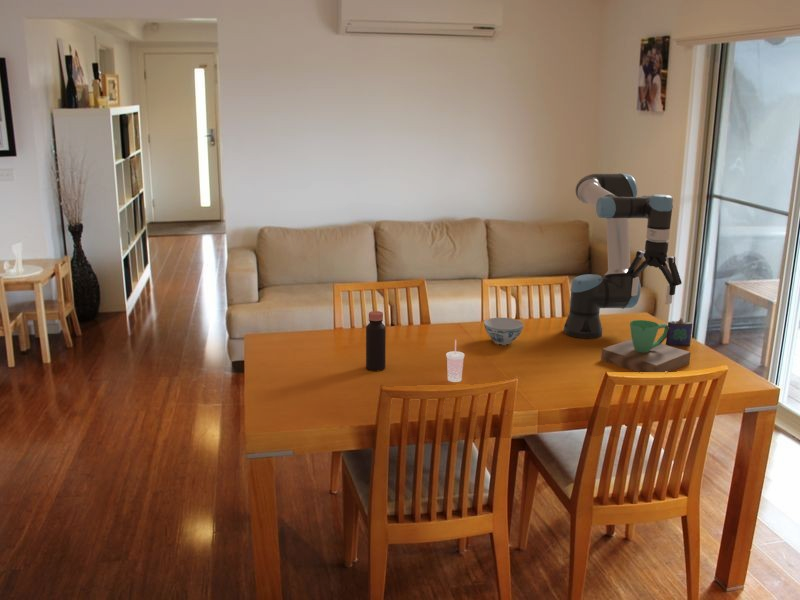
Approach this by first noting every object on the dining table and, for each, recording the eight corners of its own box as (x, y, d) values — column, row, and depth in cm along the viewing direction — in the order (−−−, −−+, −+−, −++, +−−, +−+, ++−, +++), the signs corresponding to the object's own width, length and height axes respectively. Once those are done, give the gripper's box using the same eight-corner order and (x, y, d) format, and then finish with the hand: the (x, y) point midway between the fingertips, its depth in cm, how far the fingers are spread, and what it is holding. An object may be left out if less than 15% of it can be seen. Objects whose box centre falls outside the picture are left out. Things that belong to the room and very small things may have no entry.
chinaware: (530, 344, 293) (531, 324, 291) (501, 351, 284) (502, 331, 282) (504, 333, 305) (505, 315, 302) (475, 340, 296) (476, 321, 294)
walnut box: (600, 361, 276) (602, 348, 275) (635, 349, 290) (636, 336, 288) (655, 379, 260) (656, 365, 259) (689, 365, 274) (690, 352, 272)
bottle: (383, 364, 269) (384, 309, 264) (386, 371, 263) (387, 315, 258) (364, 365, 268) (364, 310, 263) (367, 372, 262) (367, 316, 257)
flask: (689, 343, 295) (692, 317, 292) (691, 346, 292) (694, 319, 289) (664, 343, 295) (667, 316, 292) (667, 345, 292) (669, 319, 289)
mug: (637, 355, 267) (639, 328, 265) (622, 347, 276) (624, 320, 274) (673, 353, 271) (676, 325, 268) (658, 345, 280) (660, 318, 278)
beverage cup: (462, 383, 252) (464, 343, 249) (444, 382, 254) (445, 342, 250) (464, 377, 258) (465, 337, 255) (446, 375, 259) (447, 336, 256)
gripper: (619, 235, 270) (614, 293, 276) (684, 247, 251) (677, 309, 257) (632, 233, 274) (626, 290, 280) (696, 244, 256) (689, 305, 262)
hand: (651, 299), depth 269 cm, fingers open, 13 cm apart
